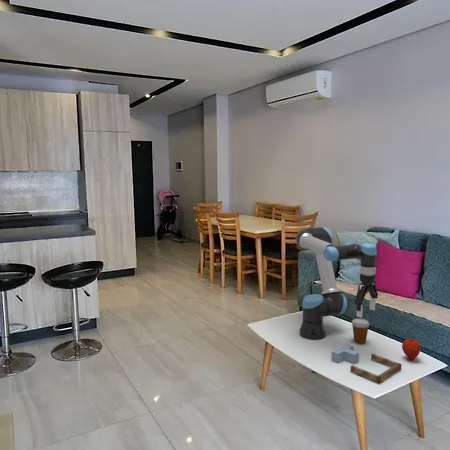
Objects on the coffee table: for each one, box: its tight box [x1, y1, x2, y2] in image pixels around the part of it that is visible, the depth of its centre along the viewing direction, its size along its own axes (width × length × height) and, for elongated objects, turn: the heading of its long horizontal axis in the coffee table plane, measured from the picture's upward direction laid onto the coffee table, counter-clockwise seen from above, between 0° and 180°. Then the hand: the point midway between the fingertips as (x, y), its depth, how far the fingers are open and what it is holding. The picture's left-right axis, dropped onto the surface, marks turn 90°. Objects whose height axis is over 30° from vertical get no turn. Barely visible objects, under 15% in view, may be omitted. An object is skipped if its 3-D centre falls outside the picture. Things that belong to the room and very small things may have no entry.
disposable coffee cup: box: [351, 318, 370, 345], centre depth 225 cm, size 10×10×12 cm
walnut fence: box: [350, 353, 402, 385], centre depth 193 cm, size 15×20×3 cm
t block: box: [330, 343, 360, 365], centre depth 205 cm, size 10×14×5 cm
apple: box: [401, 338, 422, 361], centre depth 203 cm, size 9×8×11 cm
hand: (365, 313), depth 208 cm, fingers open, 13 cm apart
